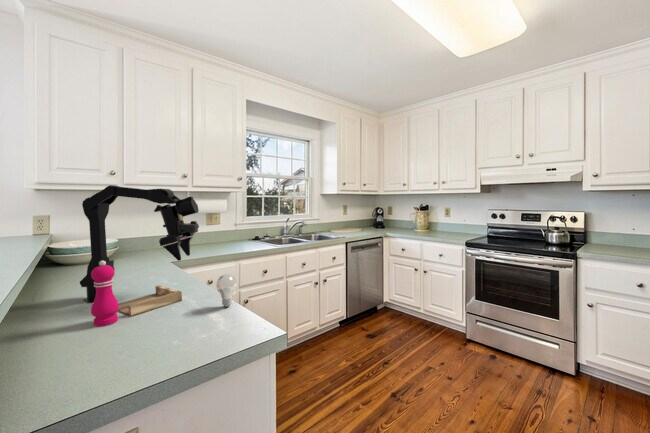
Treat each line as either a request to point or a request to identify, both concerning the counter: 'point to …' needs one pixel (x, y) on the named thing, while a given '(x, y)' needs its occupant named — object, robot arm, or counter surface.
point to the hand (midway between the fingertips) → (184, 257)
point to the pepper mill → (104, 296)
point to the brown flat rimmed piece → (151, 301)
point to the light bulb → (226, 288)
